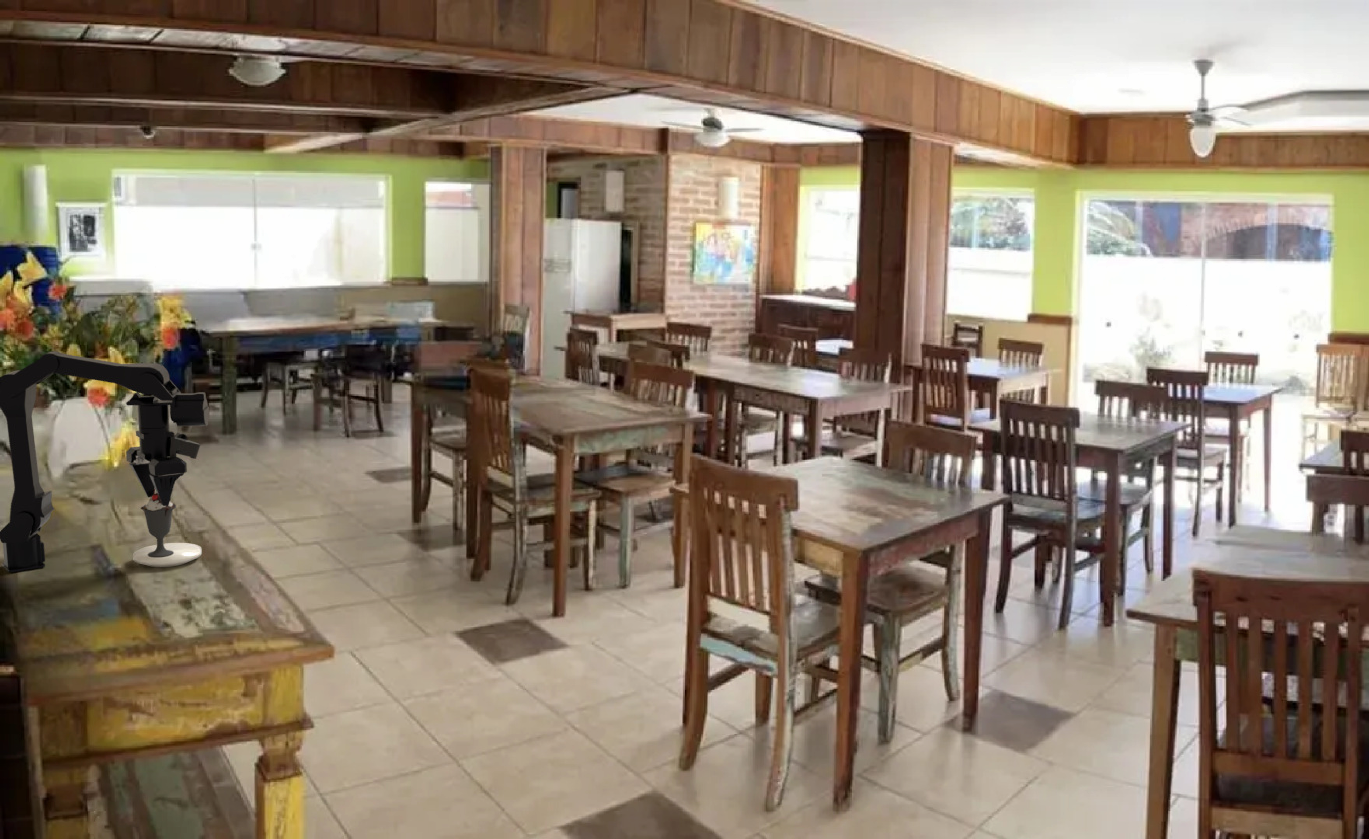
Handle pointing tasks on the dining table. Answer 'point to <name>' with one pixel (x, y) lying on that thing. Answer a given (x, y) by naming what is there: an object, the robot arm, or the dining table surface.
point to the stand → (180, 556)
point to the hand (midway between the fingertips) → (158, 501)
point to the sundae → (158, 523)
